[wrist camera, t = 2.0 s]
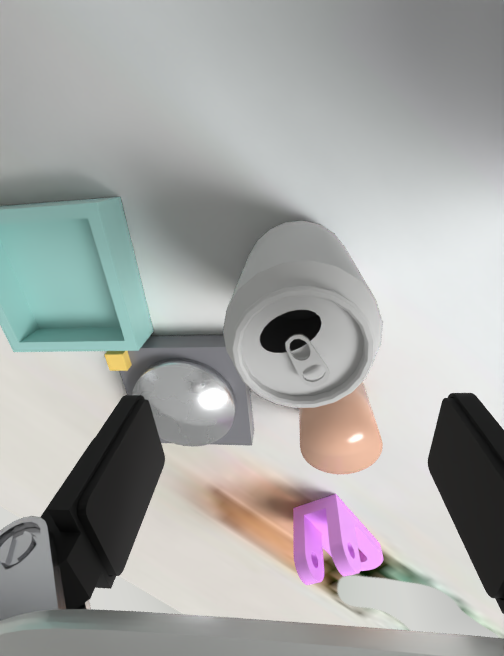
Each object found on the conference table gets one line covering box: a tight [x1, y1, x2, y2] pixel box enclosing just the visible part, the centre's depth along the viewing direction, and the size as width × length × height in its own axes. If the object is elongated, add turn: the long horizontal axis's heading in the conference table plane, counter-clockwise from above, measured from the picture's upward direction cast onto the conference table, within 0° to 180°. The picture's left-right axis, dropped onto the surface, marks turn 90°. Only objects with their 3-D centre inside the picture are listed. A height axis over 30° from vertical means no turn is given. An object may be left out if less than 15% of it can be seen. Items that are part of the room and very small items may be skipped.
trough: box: [0, 197, 153, 352], centre depth 25 cm, size 11×11×3 cm
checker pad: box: [132, 358, 236, 446], centre depth 28 cm, size 9×9×1 cm
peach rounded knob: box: [299, 382, 382, 474], centre depth 27 cm, size 6×6×6 cm
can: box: [223, 221, 383, 408], centre depth 19 cm, size 8×8×12 cm
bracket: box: [293, 494, 383, 585], centre depth 36 cm, size 13×6×7 cm, turn 36°
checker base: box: [104, 335, 254, 445], centre depth 30 cm, size 11×11×3 cm
